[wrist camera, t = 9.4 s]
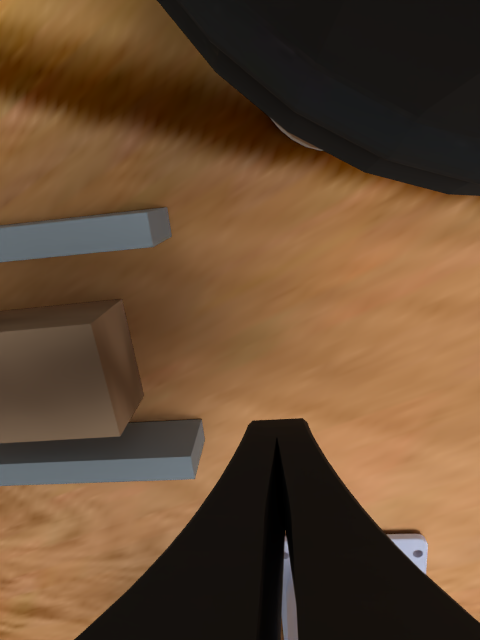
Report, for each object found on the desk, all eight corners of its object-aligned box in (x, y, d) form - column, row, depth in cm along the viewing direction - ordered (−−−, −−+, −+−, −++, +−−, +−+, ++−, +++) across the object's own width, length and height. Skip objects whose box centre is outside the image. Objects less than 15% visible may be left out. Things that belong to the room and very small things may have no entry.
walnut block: (145, 393, 19) (120, 436, 16) (-2, 403, 20) (-55, 446, 17) (123, 297, 18) (91, 323, 14) (-36, 313, 19) (-102, 341, 15)
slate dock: (204, 439, 20) (194, 479, 17) (-75, 452, 21) (-123, 490, 19) (167, 207, 16) (146, 212, 13) (-168, 243, 18) (-244, 254, 15)
